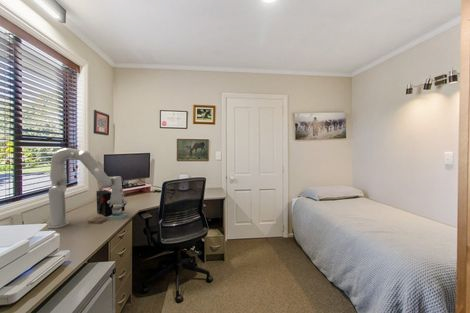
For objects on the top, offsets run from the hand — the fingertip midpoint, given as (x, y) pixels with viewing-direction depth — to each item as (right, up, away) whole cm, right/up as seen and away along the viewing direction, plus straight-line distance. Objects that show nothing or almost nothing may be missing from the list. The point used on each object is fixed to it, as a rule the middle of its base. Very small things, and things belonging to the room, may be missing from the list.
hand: (117, 210), depth 197 cm
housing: (0, -4, 0) cm, 4 cm away
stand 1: (-11, -6, -10) cm, 16 cm away
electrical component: (-16, -5, +10) cm, 19 cm away
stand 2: (0, -6, 0) cm, 6 cm away
